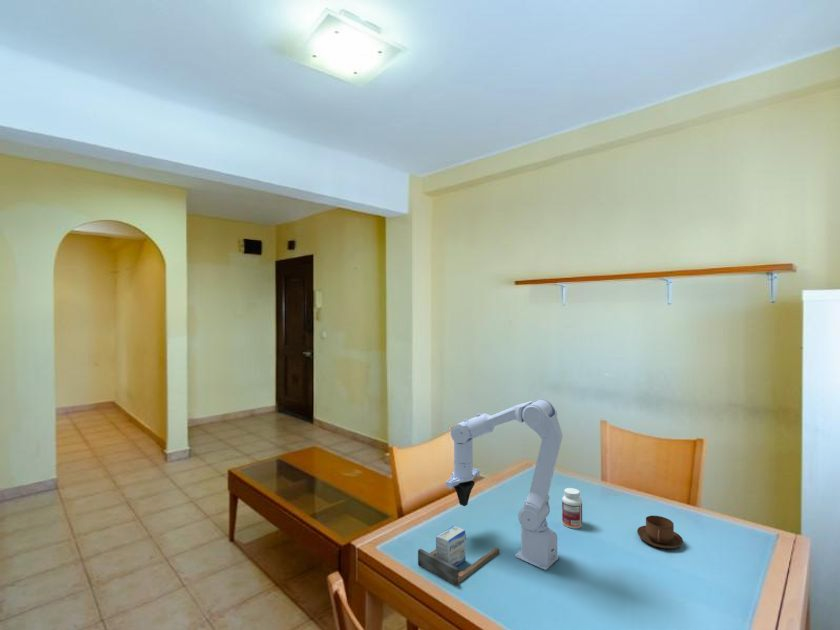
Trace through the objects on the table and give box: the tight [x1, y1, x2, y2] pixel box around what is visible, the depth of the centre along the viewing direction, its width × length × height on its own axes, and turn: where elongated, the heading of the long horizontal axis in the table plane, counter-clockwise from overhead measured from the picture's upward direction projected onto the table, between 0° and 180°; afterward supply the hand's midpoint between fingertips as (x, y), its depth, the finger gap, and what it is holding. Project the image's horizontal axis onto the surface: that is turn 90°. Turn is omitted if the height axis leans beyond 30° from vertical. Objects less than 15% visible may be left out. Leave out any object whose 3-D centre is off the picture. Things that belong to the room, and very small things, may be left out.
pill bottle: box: [561, 487, 583, 530], centre depth 140 cm, size 6×6×11 cm
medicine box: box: [435, 525, 467, 568], centre depth 119 cm, size 8×4×9 cm, turn 138°
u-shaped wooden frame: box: [417, 533, 500, 586], centre depth 121 cm, size 13×20×4 cm, turn 137°
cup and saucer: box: [636, 515, 684, 549], centre depth 130 cm, size 12×12×6 cm
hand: (463, 504), depth 134 cm, fingers closed
